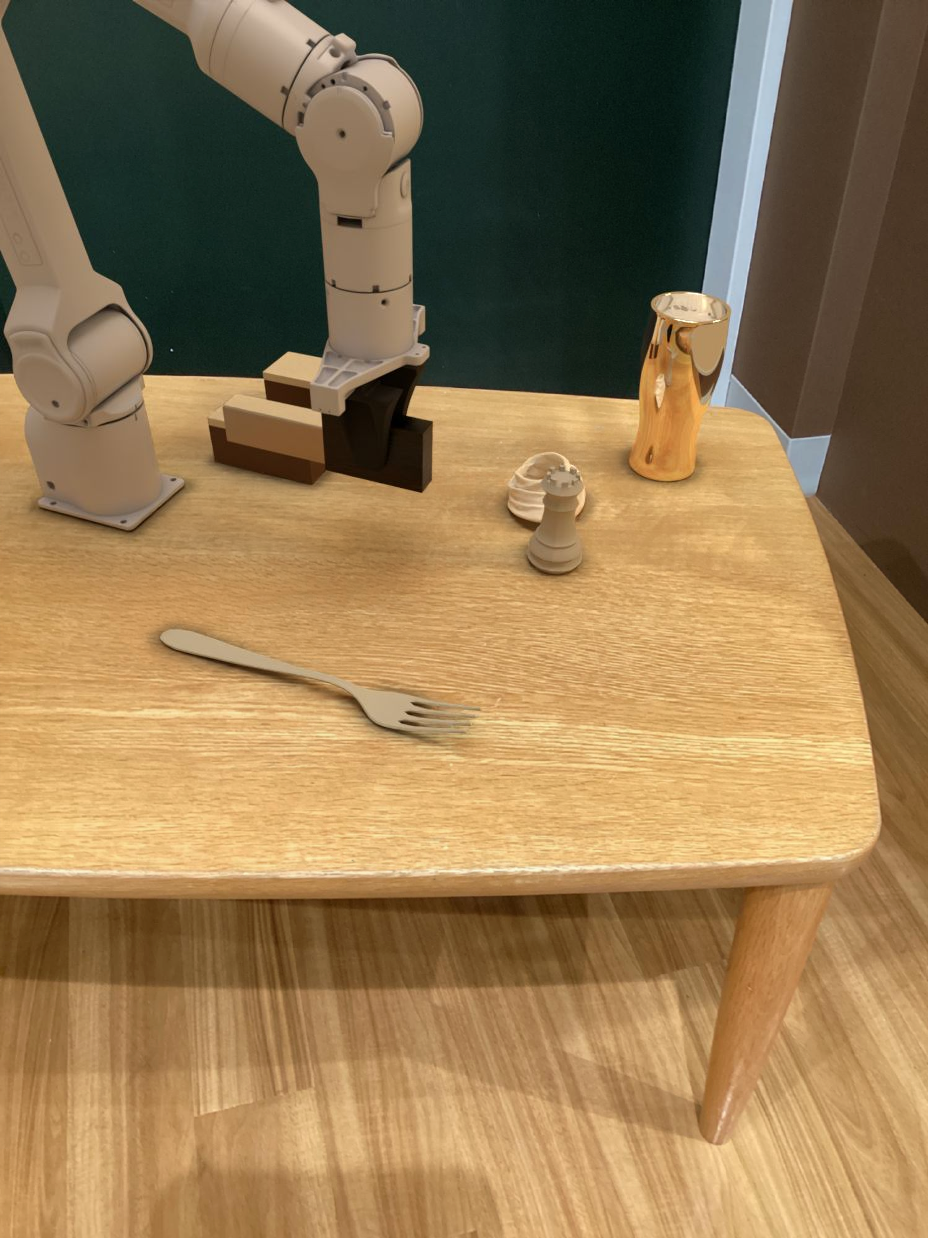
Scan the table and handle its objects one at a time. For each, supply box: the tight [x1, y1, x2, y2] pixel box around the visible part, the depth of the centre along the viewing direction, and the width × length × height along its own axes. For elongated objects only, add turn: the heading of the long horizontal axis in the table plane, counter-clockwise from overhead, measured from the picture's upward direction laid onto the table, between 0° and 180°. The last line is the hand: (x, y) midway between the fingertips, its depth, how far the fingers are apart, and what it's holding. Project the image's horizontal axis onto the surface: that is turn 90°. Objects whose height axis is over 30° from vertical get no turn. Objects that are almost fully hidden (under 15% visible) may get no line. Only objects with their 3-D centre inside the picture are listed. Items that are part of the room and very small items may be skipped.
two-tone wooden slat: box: [221, 405, 434, 494], centre depth 69 cm, size 17×2×5 cm, turn 70°
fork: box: [159, 628, 484, 734], centre depth 62 cm, size 3×24×2 cm, turn 67°
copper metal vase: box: [628, 290, 732, 482], centre depth 81 cm, size 7×7×15 cm
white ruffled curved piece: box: [507, 451, 587, 523], centre depth 78 cm, size 8×7×5 cm
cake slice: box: [262, 351, 322, 409], centre depth 90 cm, size 10×5×4 cm, turn 69°
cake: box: [206, 393, 327, 485], centre depth 83 cm, size 10×5×4 cm, turn 69°
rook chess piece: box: [526, 465, 585, 575], centre depth 71 cm, size 4×4×8 cm
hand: (376, 459), depth 69 cm, fingers closed on two-tone wooden slat, 2 cm apart
